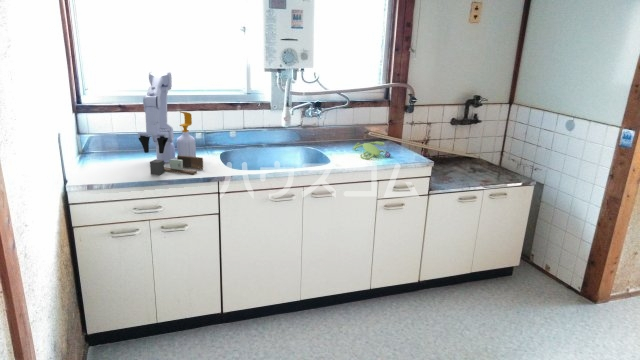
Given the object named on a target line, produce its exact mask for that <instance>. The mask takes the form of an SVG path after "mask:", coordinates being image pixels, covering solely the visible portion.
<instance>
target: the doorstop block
mask: <svg viewBox="0 0 640 360" xmlns="http://www.w3.org/2000/svg"><path fill="white" fill-rule="evenodd" d="M156 159H157V158H156ZM156 159H154V160H151V161H149V169H150V170H149V171H150V175H153V176H160V175H163V174H165V172H166V171H165V169H164V167H165V163H164V160H156Z"/></svg>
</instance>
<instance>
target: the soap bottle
mask: <svg viewBox="0 0 640 360" xmlns="http://www.w3.org/2000/svg"><path fill="white" fill-rule="evenodd" d="M179 113H180V114H181V113H182V114H183V116H184V123H182V124H179V127H182V128H183V129H182V130H181V132H182V133H181V135H180V136H179V137H177V138H176V149H177V150H176V151H177V156H178V155H181V156H190V157H197V152H196V151H197V150H196V139H195V138H194V136H192V135H191V134H190V131H189V130H188V128H189V126H192V124H193V120H192V113H190V112H187V111H179Z"/></svg>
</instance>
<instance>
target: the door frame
mask: <svg viewBox="0 0 640 360" xmlns="http://www.w3.org/2000/svg"><path fill="white" fill-rule="evenodd" d="M176 157H177V160H183V170H177V169H170V167H165V166H164V169H165V172H167V173H176V174H184V175H192V176H193V175H195V174H198V172H197V170H204V159H203V157H200V156H199V157H198V156H196V157H190V156H181V155H178V154H177V156H176ZM184 168H187V169H184ZM192 169H194V170H192ZM195 169H196V170H195Z"/></svg>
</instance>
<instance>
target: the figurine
mask: <svg viewBox="0 0 640 360" xmlns="http://www.w3.org/2000/svg"><path fill="white" fill-rule="evenodd" d="M376 145H377V146H381V147H382V146H384V145H385V142H383V141H371V142H364V143H362V144H361V143H360V142H356V143H355V145H354V146H353V147H352V150H356V149H358V148H361V147H362V148H363V149H364V150H365V151H364V152H363V153H361V154H359V155H360V158H361V159H362V160H366V161H367V160H371V159H372V158H374V157H375V156H376V157H377V158H378V157H379V156H380V155H381V153H385V154H384V156H385V157H387V158H390V157H391V156H392V154H391V153H390V152H389V151H387V150H381V149H379V148H378V147H377V146H376ZM366 156H368V157H366Z"/></svg>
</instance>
